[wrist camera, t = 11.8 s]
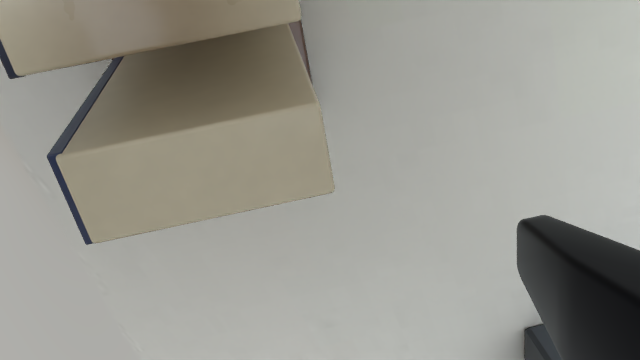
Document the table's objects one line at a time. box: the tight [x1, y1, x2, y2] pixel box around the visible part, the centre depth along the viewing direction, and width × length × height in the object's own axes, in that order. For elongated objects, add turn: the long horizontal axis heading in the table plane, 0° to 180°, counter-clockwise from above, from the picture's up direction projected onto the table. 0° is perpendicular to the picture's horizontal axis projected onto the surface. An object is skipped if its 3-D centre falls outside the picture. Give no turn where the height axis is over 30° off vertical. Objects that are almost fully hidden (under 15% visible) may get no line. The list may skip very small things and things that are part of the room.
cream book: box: [47, 24, 335, 245], centre depth 14 cm, size 5×2×8 cm, turn 100°
